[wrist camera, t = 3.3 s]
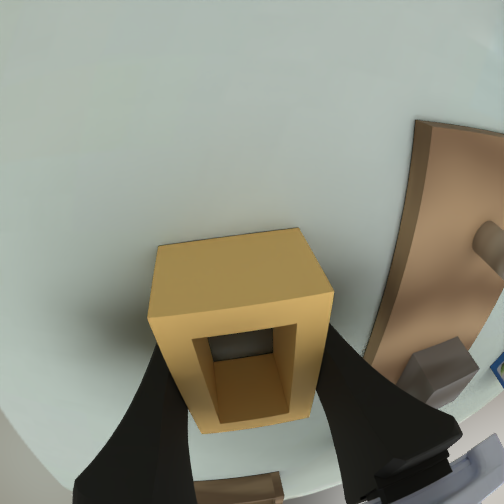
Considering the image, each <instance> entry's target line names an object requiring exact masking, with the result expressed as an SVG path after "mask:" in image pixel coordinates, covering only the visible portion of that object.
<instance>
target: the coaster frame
mask: <svg viewBox="0 0 504 504" xmlns="http://www.w3.org/2000/svg"><path fill="white" fill-rule="evenodd" d="M194 488H195V493H196V499H197V503H198V504H282V503H283V499H284V492H283V488H282V483H281V479H280V475H279V471H278V472H273V473H267V474H261V475H255V476H248V477H240V478H232V479H222V480H210V481H194Z"/></svg>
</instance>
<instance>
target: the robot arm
mask: <svg viewBox="0 0 504 504" xmlns="http://www.w3.org/2000/svg"><path fill="white" fill-rule="evenodd" d="M316 391H317V393H318V396H319V398H320V401H321V403H322V406H323V408H324V411H325V414H326V417H327V420H328V423H329V427H330V430H331V434H332V438H333V442H334V446H335V450H336V454H337V458H338V463H339V468H340V472H341V478H342V483H343V488H344V495H345V500H346V503H347V504H358V503H361V502H364V501H368V502H365V503H362V504H481V502H482V501H483V500H484V499H485V498H486V497H487V496H489V495H490V494H491V493H493V492H494V491H495V490H496V489H497V488H499V487H500V486H501V485H502V484H503V483H504V448H503V446H502V444H501V442H500V440H499V438H498V436H497V434H496V433H494V434H492V435H491V436H489V437H488V438H487V439H485V440H484V441H482V442H481V443H479V444H478V445H476V446H475V447H473V448H472V449H471V450H469V451H468V452H467V453H466V454H464V455H463V456H461V457H460V458H458V459H456V460H455V461H453V462H451V463H449V462H448V460H447V458H448V457H449V453H448V450H447V449H448V448H449V447H450V446H452V445H453V444H454V443H455V442H457V441H458V440H459V439H460V438H461V437H462V435H463V433H462V431H461V429H460V427H459V425H458V423H457V421H456V420H455V418H454V417H453V416H452V415H449V414H447V413H445V412H442V411H440V410H438V409H435V408H433V407H431V406H429V405H428V404H426V403H424V402H422V401H420V400H418V399H417V398H415V397H413V396H412V395H410V394H409V393H407V392H405V391H404V390H402V389H401V388H399V387H398V386H396V385H395V384H394V383H392V382H391V381H389V380H388V379H387V378H385V377H384V376H383V375H382V374H380V373H379V372H378V371H377V370H376V369H374V368H373V367H372V366H371V365H370V364H369V363H368V362H367V361H365V360H364V359H363V358H362V357H361V356H360V355H359V354H358V353H357V352H356V351H355V350H354V349H353V348H352V347H351V346H350V345H349V344H348V343H347V342H346V341H345V340H344V339H343V338H342V336H341V335H340V334H339V333H338V332H337V331H336V330H335V329H334V327H333V326H332V325H331V324H330V323H329V326H328V332H327V337H326V342H325V348H324V353H323V358H322V363H321V367H320V372H319V377H318V381H317V386H316ZM73 504H198V503H197V499H196V493H195V488H194V482H193V476H192V470H191V463H190V455H189V447H188V407H187V405H186V403H185V401H184V399H183V397H182V395H181V393H180V391H179V389H178V387H177V385H176V383H175V381H174V379H173V377H172V374H171V372H170V370H169V368H168V366H167V364H166V361H165V359H164V357H163V355H162V352H161V350H160V348H159V345H158V343H156V346H155V349H154V352H153V354H152V357H151V360H150V362H149V365H148V367H147V370H146V372H145V374H144V377H143V379H142V382H141V384H140V386H139V388H138V390H137V392H136V394H135V396H134V398H133V400H132V402H131V404H130V406H129V408H128V410H127V412H126V414H125V415H124V417H123V419H122V420H121V422H120V424H119V425H118V427H117V428H116V430H115V431H114V433H113V435H112V436H111V437H110V439H109V440H108V442H107V443H106V444H105V446H104V447H103V448H102V450H101V451H100V452H99V453H98V455H97V456H96V457H95V459H94V460H93V461H92V462H91V463H90V464H89V465H88V467H87V468H86V469H85V470H84V471H83V472H82V473H81V474H80V475H79V476H78V477H77V478H76V479H75V483H74V488H73Z"/></svg>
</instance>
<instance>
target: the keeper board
mask: <svg viewBox="0 0 504 504" xmlns="http://www.w3.org/2000/svg"><path fill="white" fill-rule="evenodd" d="M503 288H504V134H501V133H496V132H492V131H487V130H481V129H476V128H470V127H464V126H458V125H452V124H445V123H437V122H429V121H420V120H416V121H415V132H414V142H413V151H412V159H411V167H410V174H409V180H408V187H407V193H406V199H405V204H404V210H403V215H402V220H401V225H400V230H399V235H398V239H397V244H396V248H395V252H394V257H393V261H392V265H391V269H390V273H389V276H388V280H387V284H386V288H385V291H384V295H383V298H382V302H381V305H380V308H379V312H378V315H377V318H376V321H375V324H374V328H373V331H372V334H371V337H370V340H369V343H368V345H367V348H366V351H365V354H364V357H363V359H364V360H365V361H367V362H368V363H369V364H370V365H371V366H372V367H373V368H374V369H376V370H377V371H378V372H379V373H380V374H382V375H383V376H384V377H385V378H387V379H388V380H389V381H391V382H392V383H394V384H395V385H396V386H398V387H399V388H401V389H402V390H404V391H405V392H407V393H409V394H410V395H412V396H413V397H415V398H417V399H418V400H420V401H422V402H424V403H426V404H428V405H429V406H431V407H433V408H435V409H438V408H440V407H442V406H444V405H446V404H448V403H450V402H452V401H454V400H455V399H456V398H457V396H458V395H459V394H460V393H461V392H462V391H463V389H464V388H465V387H466V386H467V384H468V383H469V382H470V381H471V379H472V378H473V377H474V376H475V374H476V373H477V372H478V370H479V367H478V365H477V364H476V362H475V361H474V359H473V358H472V356H471V355H470V353H469V352H468V350H469V349H470V347H471V346H472V344H473V342H474V341H475V339H476V338H477V336H478V334H479V333H480V331H481V329H482V328H483V326H484V324H485V322H486V321H487V319H488V317H489V315H490V313H491V311H492V310H493V308H494V306H495V304H496V302H497V300H498V298H499V296H500V294H501V292H502V290H503Z"/></svg>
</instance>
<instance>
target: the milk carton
mask: <svg viewBox="0 0 504 504" xmlns="http://www.w3.org/2000/svg"><path fill="white" fill-rule="evenodd" d="M490 368H491V369H492V371H493V372H494V374H495V376H496V377H497V379H498V380H499V382H500V383H501V385H502V387H503V388H504V352H503V353H502V355H501V356H500V357H499V358H498V359H497V360H496V361H495V362H494V363H493V364H492V365H491V366H490Z"/></svg>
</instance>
